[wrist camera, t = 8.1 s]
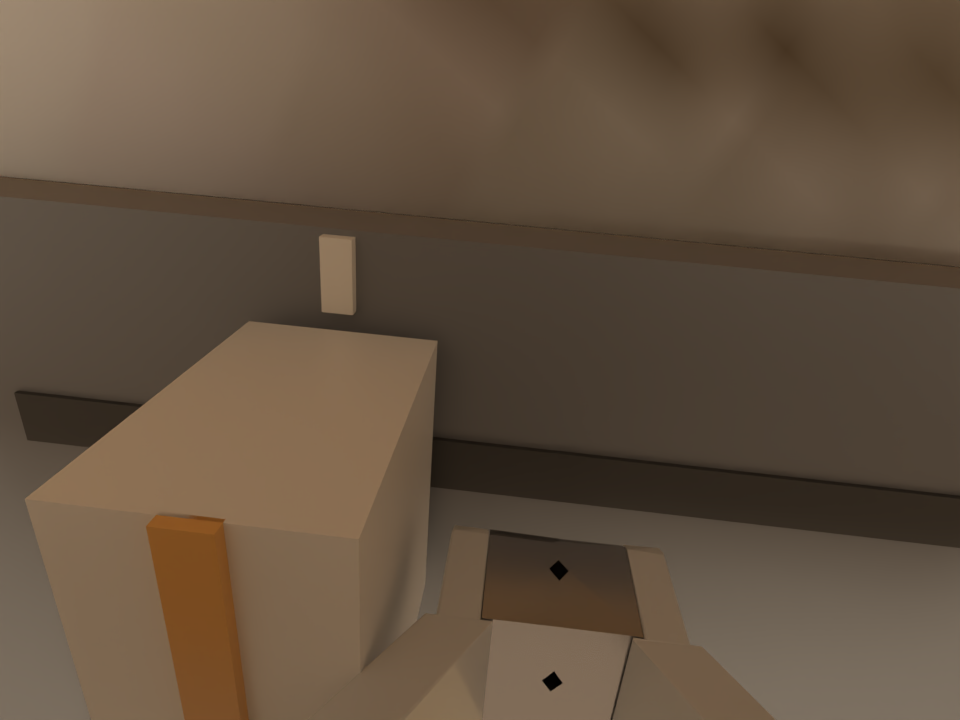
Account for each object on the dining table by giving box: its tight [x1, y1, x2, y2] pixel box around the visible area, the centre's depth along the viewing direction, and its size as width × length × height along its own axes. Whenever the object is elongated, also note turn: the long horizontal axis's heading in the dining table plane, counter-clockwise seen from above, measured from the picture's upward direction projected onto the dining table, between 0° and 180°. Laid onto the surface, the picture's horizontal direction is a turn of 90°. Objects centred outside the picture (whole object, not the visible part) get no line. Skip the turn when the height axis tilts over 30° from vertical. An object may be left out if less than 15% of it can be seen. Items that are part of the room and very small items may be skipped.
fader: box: [25, 321, 438, 720], centre depth 8 cm, size 3×5×5 cm, turn 176°
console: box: [0, 177, 960, 720], centre depth 13 cm, size 28×16×2 cm, turn 86°
